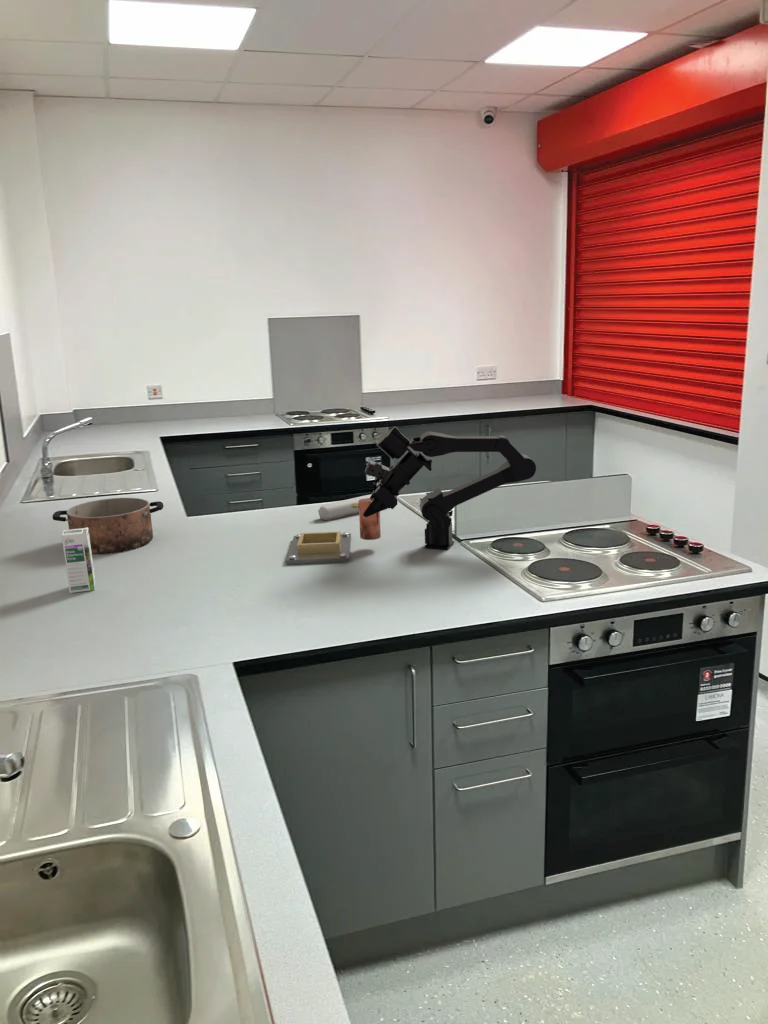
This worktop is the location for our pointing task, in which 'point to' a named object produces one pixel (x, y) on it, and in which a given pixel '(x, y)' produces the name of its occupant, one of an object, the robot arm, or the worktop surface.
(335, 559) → the gray mounting plate
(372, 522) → the copper cylinder
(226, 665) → the worktop surface
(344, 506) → the tube
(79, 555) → the syrup box
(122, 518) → the cooking pot
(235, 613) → the worktop surface
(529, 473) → the robot arm
